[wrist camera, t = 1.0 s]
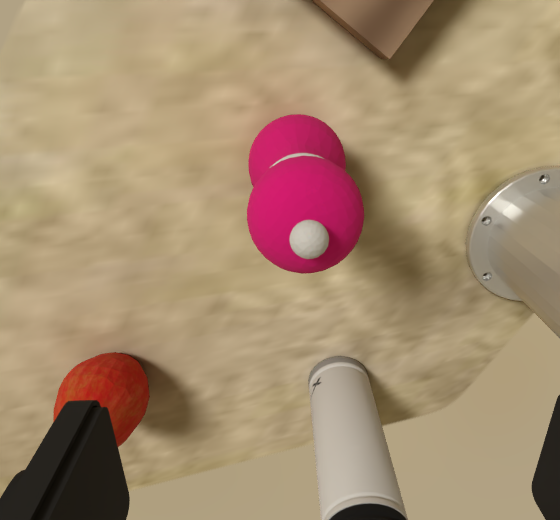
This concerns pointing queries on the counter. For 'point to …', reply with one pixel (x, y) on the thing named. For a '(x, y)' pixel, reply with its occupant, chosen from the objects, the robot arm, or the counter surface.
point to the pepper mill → (302, 196)
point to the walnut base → (377, 20)
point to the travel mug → (351, 446)
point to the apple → (109, 390)
